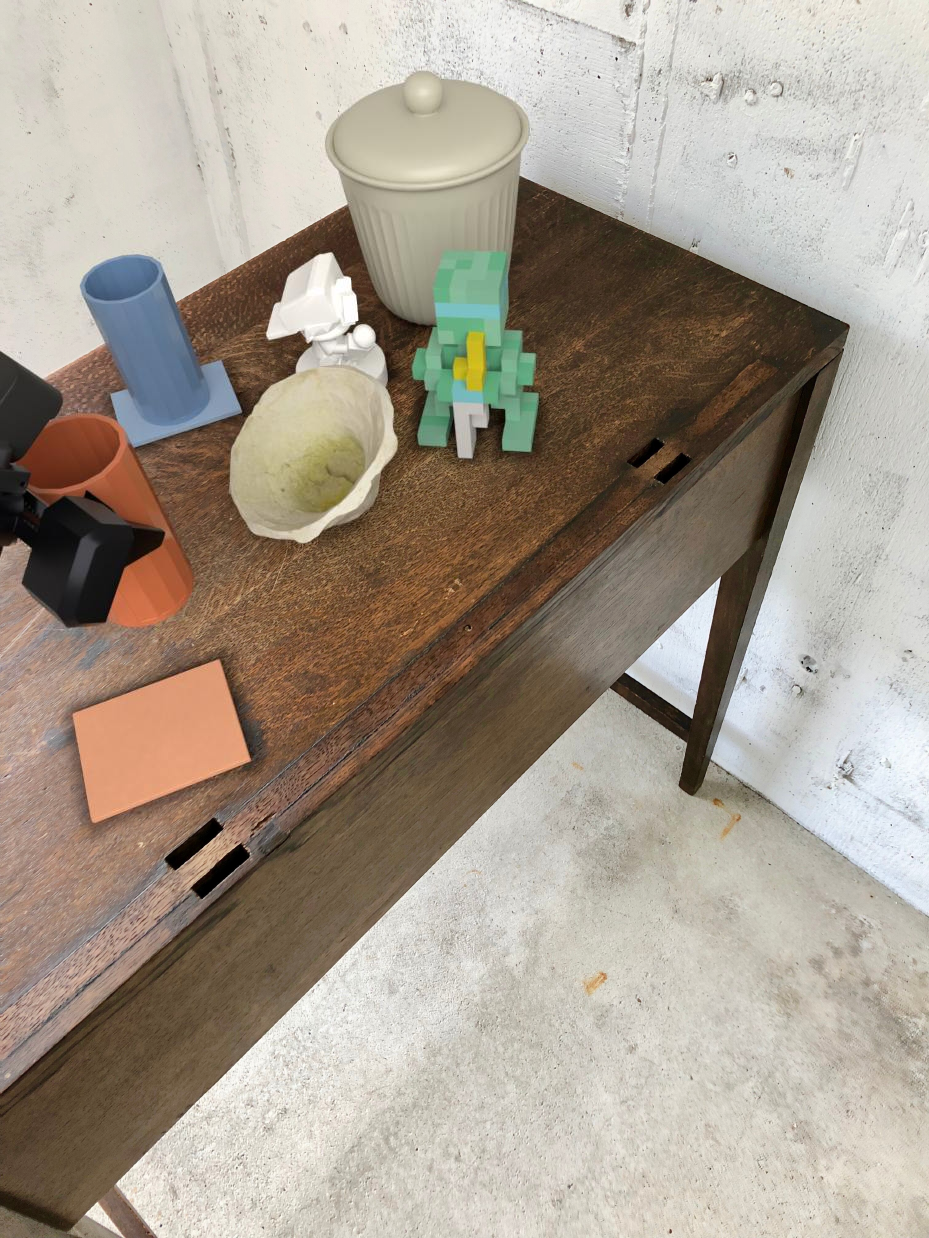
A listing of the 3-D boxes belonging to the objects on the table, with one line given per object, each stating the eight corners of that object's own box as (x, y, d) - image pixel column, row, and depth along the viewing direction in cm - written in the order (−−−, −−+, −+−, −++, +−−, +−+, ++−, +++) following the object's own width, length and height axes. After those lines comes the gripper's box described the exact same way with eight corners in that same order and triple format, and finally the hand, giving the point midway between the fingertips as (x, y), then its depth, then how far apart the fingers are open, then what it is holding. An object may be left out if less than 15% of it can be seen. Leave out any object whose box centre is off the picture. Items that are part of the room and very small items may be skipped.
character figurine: (383, 412, 81) (362, 298, 71) (282, 414, 81) (247, 301, 72) (391, 351, 86) (373, 236, 76) (296, 353, 86) (266, 240, 77)
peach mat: (94, 823, 59) (91, 820, 58) (75, 716, 64) (72, 713, 63) (251, 761, 61) (249, 758, 60) (221, 662, 66) (219, 658, 65)
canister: (320, 319, 89) (270, 100, 72) (417, 229, 98) (393, 14, 81) (471, 372, 83) (455, 146, 66) (561, 271, 91) (568, 48, 74)
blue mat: (126, 450, 80) (124, 446, 79) (112, 398, 84) (109, 394, 84) (242, 412, 82) (241, 408, 81) (222, 363, 86) (220, 359, 86)
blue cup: (145, 434, 80) (86, 312, 70) (132, 391, 84) (74, 268, 73) (217, 411, 81) (170, 288, 71) (201, 369, 85) (154, 246, 75)
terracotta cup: (102, 639, 59) (10, 507, 49) (95, 567, 63) (8, 430, 53) (201, 610, 60) (131, 474, 50) (188, 541, 64) (120, 401, 54)
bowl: (212, 498, 76) (173, 408, 67) (347, 424, 80) (326, 331, 72) (301, 604, 68) (269, 518, 60) (445, 516, 73) (433, 425, 64)
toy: (416, 455, 77) (394, 307, 65) (435, 380, 83) (418, 231, 70) (529, 462, 76) (528, 312, 63) (541, 385, 81) (542, 234, 69)
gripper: (15, 417, 38) (267, 459, 51) (-184, 273, 45) (80, 343, 59) (-49, 641, 41) (204, 624, 54) (-226, 470, 48) (34, 493, 62)
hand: (128, 513), depth 57 cm, fingers closed on terracotta cup, 7 cm apart
